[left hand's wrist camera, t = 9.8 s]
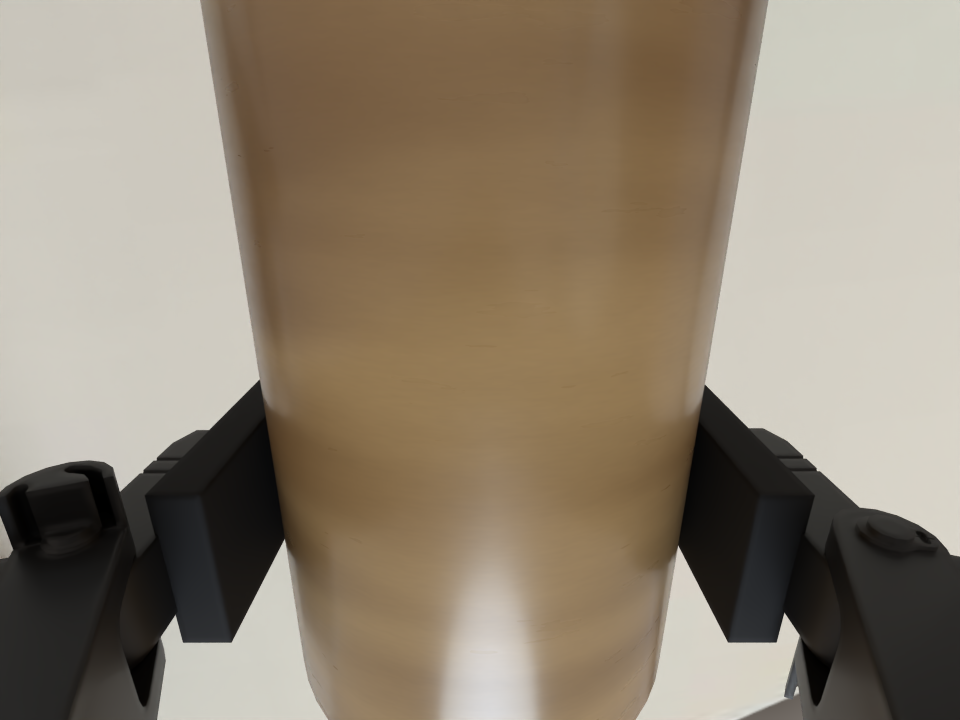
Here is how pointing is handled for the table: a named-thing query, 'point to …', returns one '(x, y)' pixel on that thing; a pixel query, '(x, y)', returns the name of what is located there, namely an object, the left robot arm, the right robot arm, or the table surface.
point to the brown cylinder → (482, 328)
